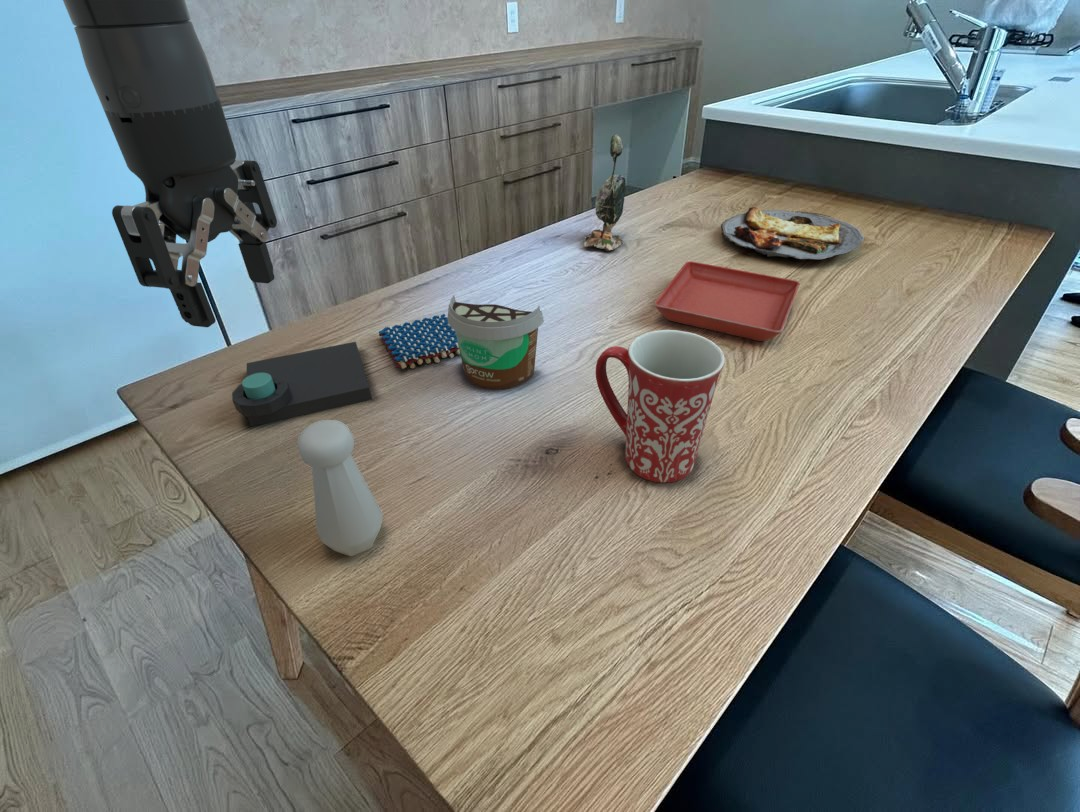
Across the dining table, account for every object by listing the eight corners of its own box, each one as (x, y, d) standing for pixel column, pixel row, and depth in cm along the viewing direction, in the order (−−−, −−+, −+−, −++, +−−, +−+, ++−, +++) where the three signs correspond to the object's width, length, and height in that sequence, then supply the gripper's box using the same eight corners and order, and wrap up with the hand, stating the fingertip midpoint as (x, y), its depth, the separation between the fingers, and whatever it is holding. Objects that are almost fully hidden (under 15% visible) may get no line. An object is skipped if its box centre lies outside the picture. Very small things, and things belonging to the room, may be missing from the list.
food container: (438, 386, 75) (428, 316, 69) (457, 361, 79) (449, 294, 73) (530, 402, 72) (527, 330, 66) (544, 375, 76) (543, 306, 70)
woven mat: (474, 354, 81) (472, 341, 80) (399, 374, 77) (396, 361, 76) (448, 322, 88) (446, 310, 87) (378, 339, 85) (376, 326, 83)
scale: (241, 434, 67) (231, 410, 65) (242, 376, 77) (233, 354, 75) (373, 404, 72) (368, 380, 70) (358, 353, 82) (353, 331, 80)
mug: (717, 453, 64) (740, 346, 56) (680, 502, 58) (700, 391, 50) (616, 412, 70) (624, 310, 62) (574, 453, 64) (576, 347, 56)
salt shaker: (395, 547, 54) (368, 439, 46) (332, 574, 52) (293, 464, 44) (375, 507, 58) (347, 401, 50) (316, 530, 56) (278, 423, 48)
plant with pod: (635, 236, 115) (645, 126, 104) (610, 256, 108) (617, 139, 96) (598, 229, 119) (603, 122, 107) (571, 248, 111) (573, 134, 99)
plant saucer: (796, 299, 93) (801, 279, 91) (776, 352, 80) (782, 331, 78) (684, 278, 100) (687, 259, 98) (650, 324, 87) (652, 304, 85)
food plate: (700, 246, 111) (702, 228, 109) (746, 213, 126) (750, 196, 124) (838, 278, 99) (844, 258, 97) (871, 237, 113) (877, 219, 111)
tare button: (246, 402, 67) (241, 390, 66) (246, 388, 69) (241, 375, 68) (276, 396, 68) (271, 384, 67) (275, 382, 70) (270, 370, 69)
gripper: (185, 82, 49) (246, 266, 58) (30, 116, 37) (138, 337, 47) (265, 83, 47) (314, 272, 57) (129, 119, 36) (220, 346, 46)
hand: (234, 301), depth 52 cm, fingers open, 8 cm apart
